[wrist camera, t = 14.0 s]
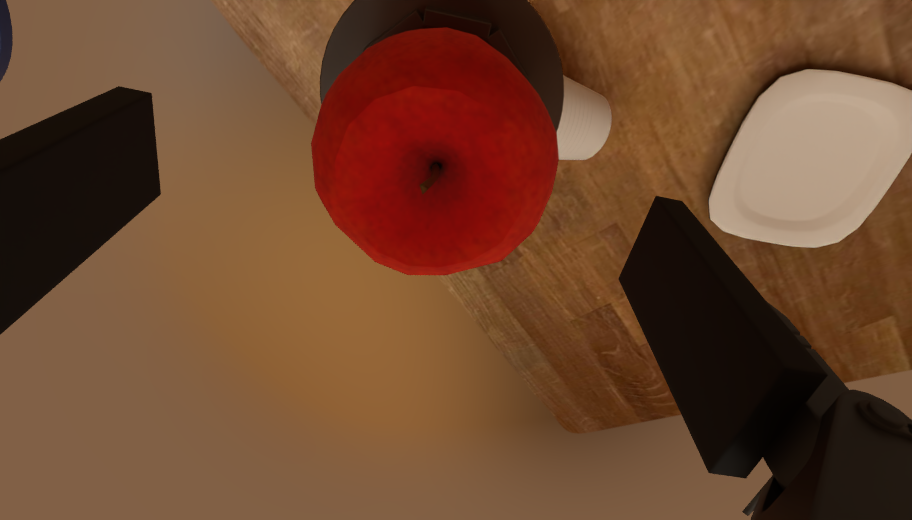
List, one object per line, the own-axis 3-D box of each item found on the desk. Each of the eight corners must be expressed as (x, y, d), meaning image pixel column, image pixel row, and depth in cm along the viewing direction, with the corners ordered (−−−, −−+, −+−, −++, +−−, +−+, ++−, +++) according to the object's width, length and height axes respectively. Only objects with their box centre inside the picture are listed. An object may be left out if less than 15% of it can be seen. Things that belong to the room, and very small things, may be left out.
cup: (551, 134, 56) (457, 113, 52) (604, 52, 49) (501, 19, 45) (580, 201, 50) (478, 184, 46) (645, 119, 44) (532, 89, 39)
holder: (377, 78, 51) (308, 198, 28) (394, -66, 44) (323, -65, 21) (498, 103, 52) (529, 238, 29) (531, -33, 46) (604, 0, 23)
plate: (766, 54, 49) (775, 57, 48) (939, 91, 51) (953, 95, 49) (686, 222, 59) (691, 229, 57) (835, 249, 60) (844, 256, 59)
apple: (562, 49, 25) (624, 118, 15) (490, 207, 29) (504, 334, 20) (380, -27, 23) (327, -2, 14) (332, 151, 27) (268, 262, 18)
